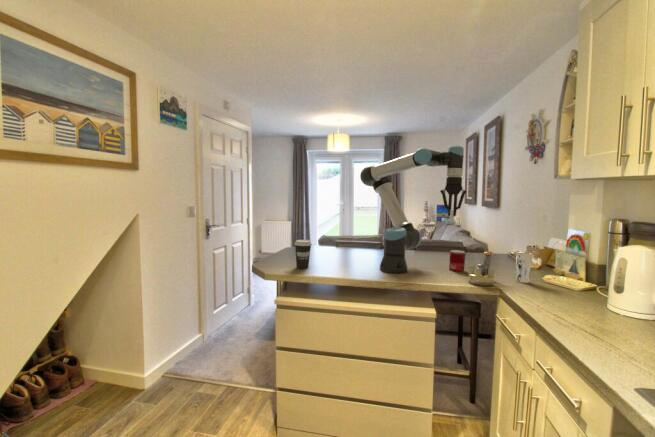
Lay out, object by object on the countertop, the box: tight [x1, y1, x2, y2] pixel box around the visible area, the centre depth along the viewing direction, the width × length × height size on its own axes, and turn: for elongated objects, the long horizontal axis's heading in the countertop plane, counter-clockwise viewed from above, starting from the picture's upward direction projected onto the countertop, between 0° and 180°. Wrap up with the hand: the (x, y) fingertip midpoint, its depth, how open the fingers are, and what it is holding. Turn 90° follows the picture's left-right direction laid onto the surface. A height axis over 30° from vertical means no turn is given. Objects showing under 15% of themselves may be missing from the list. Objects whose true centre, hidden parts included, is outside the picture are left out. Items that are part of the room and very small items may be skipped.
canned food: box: [448, 249, 466, 272], centre depth 185 cm, size 8×8×11 cm
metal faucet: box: [467, 251, 495, 287], centre depth 161 cm, size 18×11×14 cm, turn 141°
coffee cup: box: [294, 239, 312, 270], centre depth 180 cm, size 10×10×15 cm
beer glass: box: [515, 250, 533, 284], centre depth 164 cm, size 7×7×15 cm
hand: (451, 222), depth 170 cm, fingers closed
